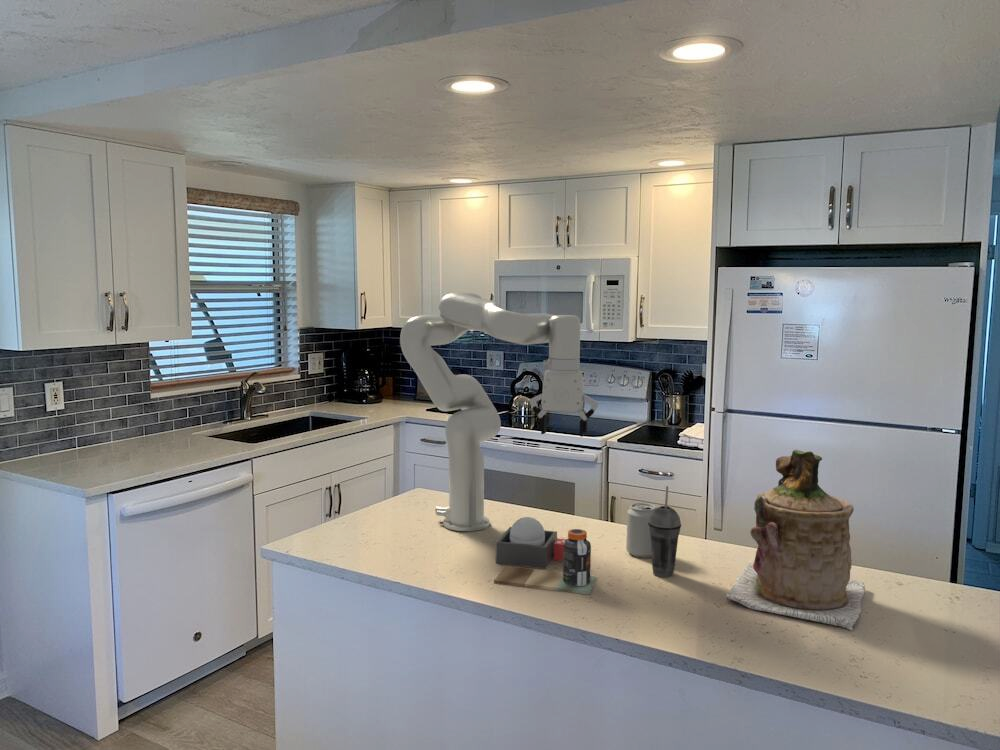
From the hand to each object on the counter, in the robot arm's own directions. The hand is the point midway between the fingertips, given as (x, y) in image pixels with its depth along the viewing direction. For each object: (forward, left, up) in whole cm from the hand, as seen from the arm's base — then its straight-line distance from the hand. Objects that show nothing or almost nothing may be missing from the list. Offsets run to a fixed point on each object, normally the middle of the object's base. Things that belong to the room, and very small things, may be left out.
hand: (562, 434), depth 182 cm
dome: (-6, -11, -27) cm, 30 cm away
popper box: (-4, -11, -28) cm, 31 cm away
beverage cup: (+26, -12, -28) cm, 40 cm away
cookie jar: (+54, -17, -29) cm, 63 cm away
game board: (+2, -24, -28) cm, 37 cm away
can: (+20, 0, -28) cm, 35 cm away
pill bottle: (+8, -24, -28) cm, 38 cm away
